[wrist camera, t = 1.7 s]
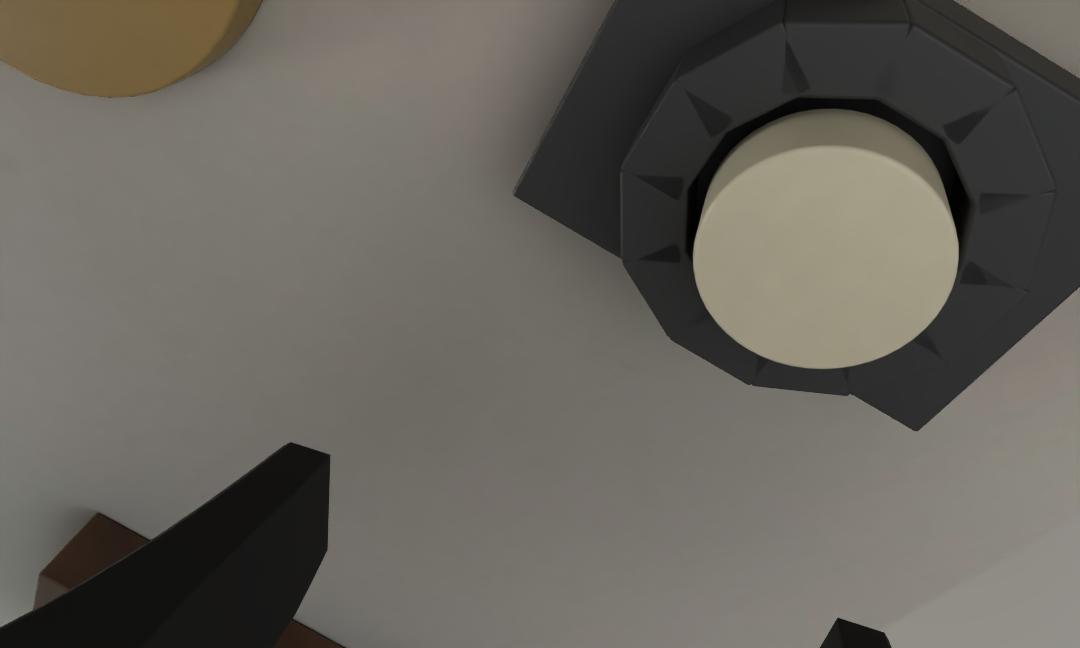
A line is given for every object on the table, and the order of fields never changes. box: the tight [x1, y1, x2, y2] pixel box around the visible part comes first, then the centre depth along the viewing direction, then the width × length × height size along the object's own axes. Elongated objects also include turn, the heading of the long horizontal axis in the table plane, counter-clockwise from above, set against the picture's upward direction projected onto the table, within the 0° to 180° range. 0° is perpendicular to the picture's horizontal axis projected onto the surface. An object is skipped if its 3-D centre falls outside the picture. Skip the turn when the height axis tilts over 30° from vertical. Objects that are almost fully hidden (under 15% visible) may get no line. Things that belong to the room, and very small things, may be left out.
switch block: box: [513, 0, 1080, 431], centre depth 16 cm, size 10×7×4 cm
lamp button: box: [693, 109, 959, 369], centre depth 14 cm, size 4×4×2 cm
